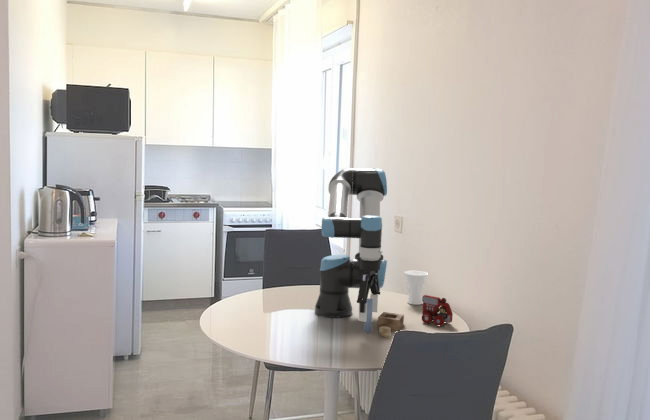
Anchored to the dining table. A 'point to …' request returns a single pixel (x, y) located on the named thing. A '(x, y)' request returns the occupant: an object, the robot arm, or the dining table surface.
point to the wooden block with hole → (391, 320)
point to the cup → (415, 285)
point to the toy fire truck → (436, 310)
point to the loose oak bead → (384, 332)
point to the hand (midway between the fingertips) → (368, 316)
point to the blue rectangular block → (368, 317)
